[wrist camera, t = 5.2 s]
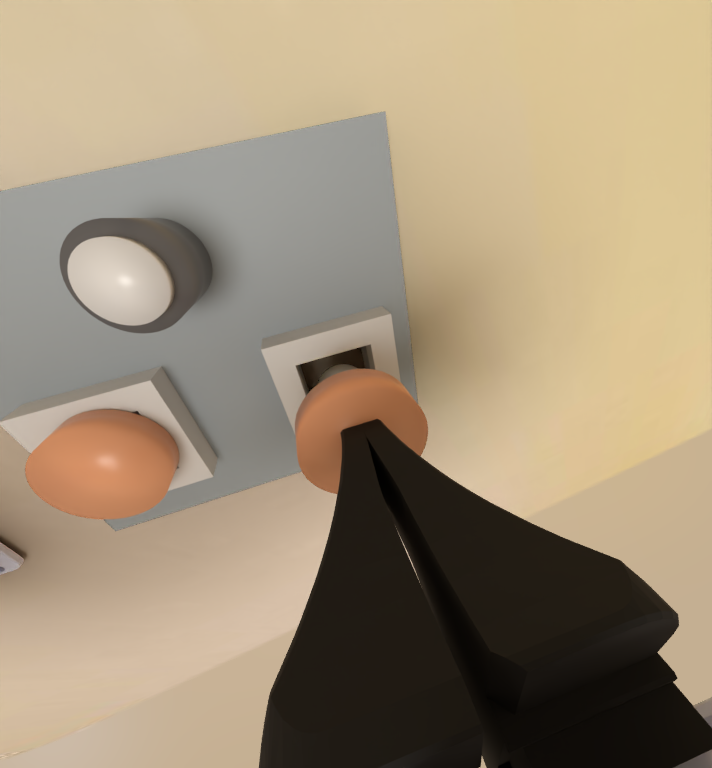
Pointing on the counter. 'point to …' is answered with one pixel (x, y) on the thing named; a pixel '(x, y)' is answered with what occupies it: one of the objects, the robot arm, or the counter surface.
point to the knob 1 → (104, 465)
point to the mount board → (213, 300)
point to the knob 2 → (352, 418)
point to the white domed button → (135, 271)
